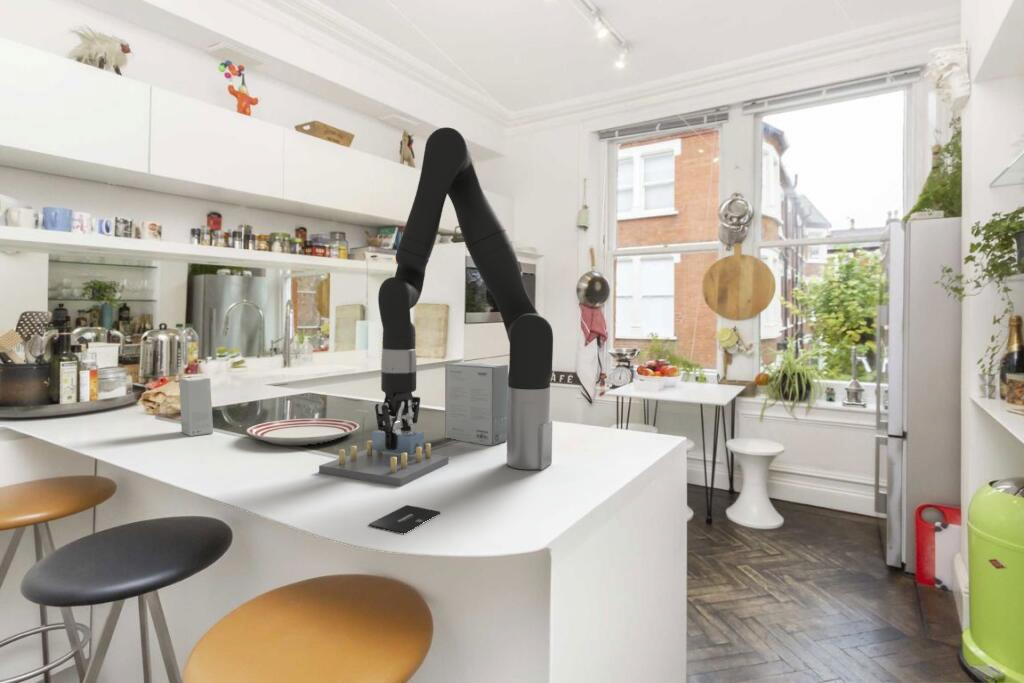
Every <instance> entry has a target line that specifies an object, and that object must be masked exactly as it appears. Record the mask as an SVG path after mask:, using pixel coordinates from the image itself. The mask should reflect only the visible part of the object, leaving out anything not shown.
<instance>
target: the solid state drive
mask: <svg viewBox="0 0 1024 683" xmlns="http://www.w3.org/2000/svg"><path fill="white" fill-rule="evenodd" d="M438 514H439V515H441V511H439V510H434V509H428V508H425V507H418V506H414V505H411V504H410V505H409V504H408V505H407V504H406V505H404V506H402V507H400V508H398V509H397V510H394V511H392V512H389V513H387V514H386V515H384V516H382V517H380V518H377V519H375V520H374V521H371V522H370V523H368V527H369V526H372V527H371V528H374V527H376V528H375V529H378V528H380V529H379V530H382V529H385V530H384V531H387V530H390V531H389V532H391V531H394V532H393V533H395V532H399V533H403V534H402V535H405V534H404V533H406V534H408V533H409V532H408V531H410V530H411V531H413V530H415V529H416V528H415V527H417V526H418V527H420V526H421V525H420V524H422V523H423V522H425V521H427V520H429V519H431V518H432V517H434V516H436V515H438ZM439 515H438V516H439ZM436 517H437V516H436ZM434 518H435V517H434ZM432 519H433V518H432ZM432 519H431V520H432ZM429 521H430V520H429ZM427 522H428V521H427ZM425 523H426V522H425ZM419 525H420V526H419ZM422 525H423V524H422ZM418 527H417V528H418ZM414 528H415V529H414ZM412 529H413V530H412ZM411 531H410V532H411ZM407 532H408V533H407ZM399 533H398V534H399Z"/></svg>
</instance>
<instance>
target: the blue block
mask: <svg viewBox="0 0 1024 683" xmlns="http://www.w3.org/2000/svg"><path fill="white" fill-rule="evenodd" d="M395 433H396V449H395V450H387V449H386V446H385V432H384V431H380V430H374V431H372V432H371V434H372V435H371V436H372V437H371V439H372V440H371V441H372V450H376V451H383V452H390V453H397V454H401V453H407V455H413V454H415V453H416V447H422V452H423V451H425V444H424V442H425V441H424V438H425V435H424V434H425V432H423V431H415V430H411V431H409V430H401V428H400V429H399V428H396V432H395Z"/></svg>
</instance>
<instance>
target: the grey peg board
mask: <svg viewBox="0 0 1024 683" xmlns="http://www.w3.org/2000/svg"><path fill="white" fill-rule="evenodd" d="M357 450H358V449H357V445H350V454H348V455H346V449H343V448H342V449H339V450H338V459H335V460H331V461H328V462H325V463H322V464H319V465H318V472H319V474H324V475H329V476H336V477H341V478H342V477H343V478H349V479H353V480H354V479H356V480H360V481H366V482H367V481H368V482H373V483H378V484H379V483H380V484H385V485H386V484H387V485H391V486H396V487H402V486H405V485H406V484H409V483H411V482H413V481H415V480H417V479H419V478H421V477H423V476H426V475H427V474H429V473H433V471H435V470H439V469H440V468H441V467H444V466H446V465H448V464H449V456H447V455H446V456H445V455H440V454H439V455H438V454H433V453H431V452H432V444H431V442H430V443H427V442H426V443H425V444H424V452H423V451H422V447H416V453H415V454H413V455H407V453H401V454H397V453H390V452H383V451H376V450H372V440H367V441H366V449H364V450H363V449H362V450H361V451H357Z"/></svg>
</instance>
